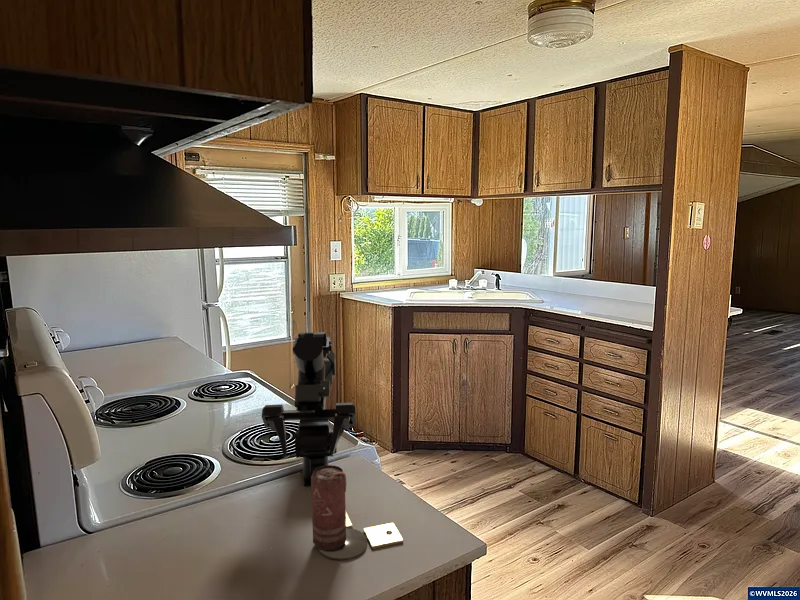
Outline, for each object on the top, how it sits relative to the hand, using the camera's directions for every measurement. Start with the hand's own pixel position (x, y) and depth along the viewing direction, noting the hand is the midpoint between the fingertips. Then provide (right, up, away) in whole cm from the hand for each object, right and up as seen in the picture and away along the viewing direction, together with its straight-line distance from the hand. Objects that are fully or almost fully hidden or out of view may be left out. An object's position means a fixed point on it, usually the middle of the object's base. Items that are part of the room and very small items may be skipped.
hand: (308, 455), depth 108 cm
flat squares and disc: (+9, -14, -2) cm, 17 cm away
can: (+5, -14, -6) cm, 16 cm away
